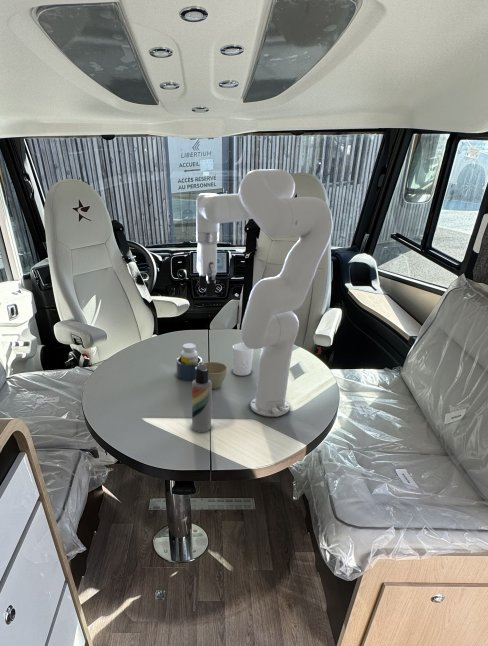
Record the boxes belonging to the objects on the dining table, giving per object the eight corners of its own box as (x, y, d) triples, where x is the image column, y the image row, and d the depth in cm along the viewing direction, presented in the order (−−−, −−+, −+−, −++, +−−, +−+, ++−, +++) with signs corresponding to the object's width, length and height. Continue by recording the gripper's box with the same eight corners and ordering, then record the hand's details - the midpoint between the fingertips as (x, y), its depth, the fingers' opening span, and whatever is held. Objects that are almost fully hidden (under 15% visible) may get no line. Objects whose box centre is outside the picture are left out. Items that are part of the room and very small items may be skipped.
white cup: (252, 376, 165) (254, 351, 159) (231, 376, 165) (233, 350, 159) (251, 368, 171) (253, 343, 165) (230, 367, 171) (232, 342, 166)
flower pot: (211, 395, 153) (211, 375, 148) (193, 385, 159) (193, 366, 155) (232, 387, 158) (233, 368, 154) (213, 377, 164) (214, 359, 160)
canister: (204, 379, 163) (204, 363, 160) (179, 381, 161) (179, 366, 158) (198, 369, 170) (198, 354, 167) (174, 371, 169) (174, 356, 165)
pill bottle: (179, 371, 167) (178, 343, 160) (194, 369, 169) (194, 341, 162) (184, 378, 162) (183, 349, 156) (200, 376, 164) (200, 347, 158)
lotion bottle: (200, 421, 138) (200, 360, 127) (214, 427, 135) (216, 365, 124) (188, 428, 135) (187, 366, 123) (202, 434, 132) (203, 372, 120)
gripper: (190, 233, 151) (191, 285, 161) (203, 242, 138) (202, 298, 148) (211, 232, 153) (210, 284, 163) (226, 241, 139) (224, 297, 149)
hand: (207, 291), depth 155 cm, fingers open, 9 cm apart
